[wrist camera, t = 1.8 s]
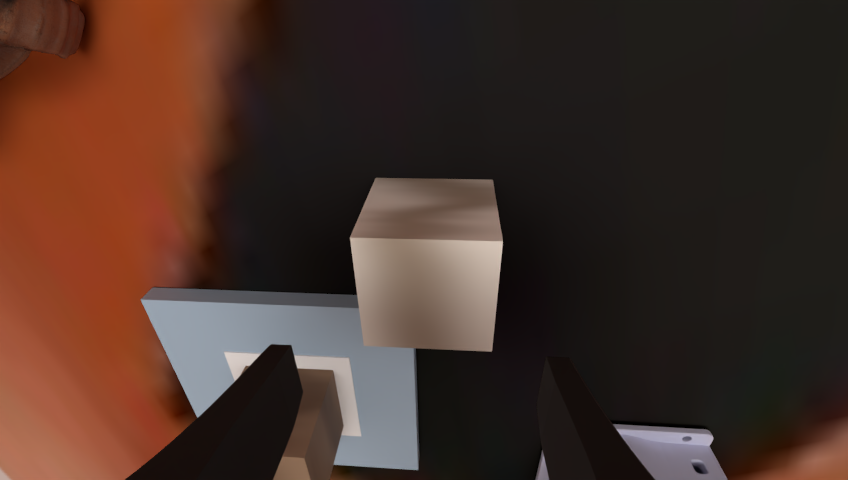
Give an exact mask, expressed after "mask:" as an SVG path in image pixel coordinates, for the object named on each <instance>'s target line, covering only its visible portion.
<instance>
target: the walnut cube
mask: <svg viewBox="0 0 848 480" xmlns="http://www.w3.org/2000/svg"><path fill="white" fill-rule="evenodd" d="M248 367H249V366H245V368H244V370H243V371H242V373H243V372H244V371H245V370H246V369H247V368H248ZM297 369H298V373H299V377H300V381H301V385H302V389H303V395H302V399H301V403H300V407H299V411H298V414H297V418H296V421H295V425H294V428H293V431H292V433H291V436H290V438H289V441H288V444H287V446H286V449H285V451H284V454H283V456H282V459H281V461H280V464H279V466H278V469H277V471H276V474H275V476H274V479H273V480H330V476H331V472H332V468H333V464H334V461H335V457H336V453H337V449H338V445H339V442H340V438H341V434H342V430H343V427H344V425H343V419H342V414H341V409H340V403H339V398H338V393H337V387H336V382H335V377H334V371H333V370H321V369H301V368H297ZM242 373H241V374H242Z"/></svg>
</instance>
